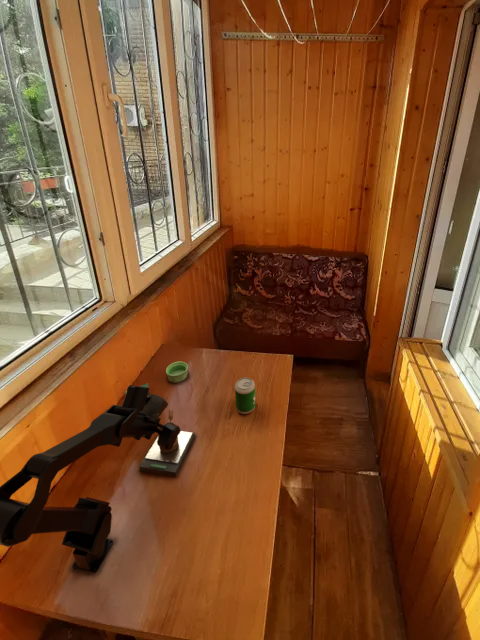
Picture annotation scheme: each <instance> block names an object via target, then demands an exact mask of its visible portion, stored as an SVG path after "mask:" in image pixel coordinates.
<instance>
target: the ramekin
mask: <svg viewBox="0 0 480 640" xmlns="http://www.w3.org/2000/svg"><path fill="white" fill-rule="evenodd" d="M188 368H189V365H188V364H187V363H186V362H184V361H175V362H172V363H170V364H169V365H168V366H167V367H166V369H165V373H166V376H167V379H168V381H169V382H170V383H176V384H177V383H180V382H182V381H184V380H185V379H187V377H188Z"/></svg>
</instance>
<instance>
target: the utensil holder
mask: <svg viewBox="0 0 480 640" xmlns="http://www.w3.org/2000/svg"><path fill="white" fill-rule="evenodd" d="M168 420H169V423H172V420H174V410H172V409H168ZM166 424H167V423H162V425H164V426H165V425H166ZM162 430H163V429H162ZM157 436H158V438H159V436H160V434H158V433H157ZM177 446H178V436H177V438H176V441H175V443H174V445H173V448H172V449H170V450H165V449H163V448H162V447H160V446H159V448H160V450H161V451H162V452H163V453H170V452H172V451H173V450H175V449H176V447H177Z"/></svg>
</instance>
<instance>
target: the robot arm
mask: <svg viewBox="0 0 480 640" xmlns="http://www.w3.org/2000/svg"><path fill="white" fill-rule="evenodd" d="M150 389H151V387H149V388H147V387H141V385H133V384H129V385H128V386H127V389H126V391H127V393H126V396H125V395H124V399H123V401H122V405H116V404H112V405H111V406H110V407H108V409H106V410H105V411H104V412H103V413H101V414H99V415H98V416H97V417H96V418H94V419H93V420H92V421H91V422H90V424H89V426H88V427H87V428H86V429H84V430H82V431H80V432H78V433H76V434H74V435H72V436H70V437H69V438H67V439H65V440H63V441H61V442H60V443H58V444H56V445H54V446H52V447H50V448H48V449H46V450H45V451H42V452H39V453H35V454H33V455H31V456H30V458H29V459H28V460H27V461H26V462H25V464H24V465H23V466H22V467H21V469H20V471H18V472H17V473H16V474H14V475H13V476H12V477H10V478H9V479H8V480H6V481H5V482H4V483H3V484H1V485H0V546H2V547H7V548H9V547H13V546H16V545H18V544H21V543H24V542H26V541H28V540H29V538H30V537H32V535H38V534H39V535H40V534H50V533H63V532H64V533H65V534H64V537H63V539H62V543H61V546H64V547H69V548H72V549H74V550H73V551H72V556H73V558H74V562H73V563H72V569H73V570H77V571H81V572H86V573H91V574H96V573H98V571H99V570H100V568H101V566H102V565H103V563H104V561H105V559H106V557H107V555H108V553H109V552H110V550H111V548H112V546H113V544H114V539H111V538H108V537H109V536H110V534H111V530H112V519H113V514H112V506H110V502H109V501H104V500H100V499H97V498H93V497H88V496H87V497H81V496H78V500H77V502H76V503H75V504H74V506H46V505H47V503H48V500H49V497H50V491H51V487H52V482H53V481H54V480H55V477H56V476H57V474H58V473H59V472H61V471H62V470H64V469H66V467H68V466H70V465H71V464H73V463H74V462H76V461H77V460H79V459H81V458H83V457H84V456H85V455H87V454H89V453H90V452H92V451H93V450H95V449H97V448H99V447H102V446H108V445H110V446H114V447H117V448H119V447H120V446H121V444H122V441H123V439H126V438H127V439H129V438H133V439H135V440H136V441H141V439H142V438H144V439H146V440H148V441H149V440H151V439H152V436H153V435H154V434H155V433H156V434H157V435H158V434H160V436H159V438H158V441H157V444H158V446H160V447H162V448H163V449H165V450H170V449H172V448H173V445H174V443H175V441H176V438H177V436H178V435H179V434H180V432H181V431H182V430H181V427H180V426H179V425H178V424H176V423H174V422H171V423H170V421H169V422H167V423H165V424H166V425H165V424H164V425H165V426H164V425H163V423H161V420H162V418H160V417H161V415H162V414H163V412H165V410H166V409H167V408H168V406H169V402H168V401H167V400H165V399H164V398H163V397H162V396H160V395H158V394H157V393H155V394H154V393H150V395H151V396H150V395H148V392H149V391H150ZM162 429H163V430H162ZM33 478H34V479H37V483H36V487H35V491H34V496H33V497H32V499H31V500H30V502H25V501H22V500H21V501H20V500H18V499H13V498H11V497H12V496H13V495H14V494H15V493H16V492H17V491H19V490H20V489H21V488H22V487H24V486H25V485H26V484H27V483H28V482H30V481H31V480H32V479H33Z"/></svg>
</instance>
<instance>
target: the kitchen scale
mask: <svg viewBox="0 0 480 640" xmlns="http://www.w3.org/2000/svg"><path fill="white" fill-rule="evenodd" d="M195 439H196V432H194V431H193V432H192V431H186V430H181V432H180V434H179V435H178V446H177V447H176V449H175V450H173V451H172V452H170V453H163V452H162V451H161V450H160V448H159V446H158V444H157V441H158V435H157V437H156V438H155V439H154V441H153V443H152V444H151V446H150V448H149V449H148V451H147V453H146V454H145V456H144V457H143V459H142V461H141V462H140V464H139V465H138V467H139V468H138V469H139V471H140V472H143V473H149V474H150V473H151V474H156V475H163V476H169V477H175V478H176V477H177V476H178V473H179V472H180V469H182V466H183V463H184V461H185V459H186V457H187V455H188V453H189V451H190V449H191V446H192V445H193V443H194V440H195Z"/></svg>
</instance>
